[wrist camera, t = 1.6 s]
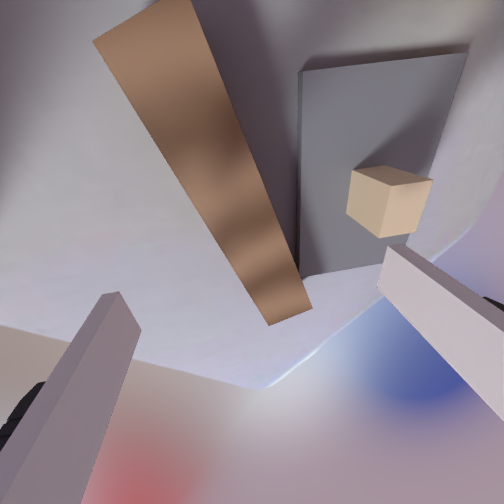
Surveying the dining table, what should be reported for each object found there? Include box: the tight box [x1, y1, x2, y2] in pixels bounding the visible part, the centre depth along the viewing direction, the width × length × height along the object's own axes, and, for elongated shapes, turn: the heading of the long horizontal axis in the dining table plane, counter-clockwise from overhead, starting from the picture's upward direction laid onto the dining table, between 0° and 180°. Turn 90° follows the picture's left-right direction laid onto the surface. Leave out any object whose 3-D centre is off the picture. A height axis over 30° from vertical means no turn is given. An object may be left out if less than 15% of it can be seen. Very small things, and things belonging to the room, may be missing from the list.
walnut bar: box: [92, 0, 313, 326], centre depth 18 cm, size 24×5×4 cm, turn 23°
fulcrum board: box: [297, 52, 468, 277], centre depth 18 cm, size 18×12×6 cm, turn 6°
